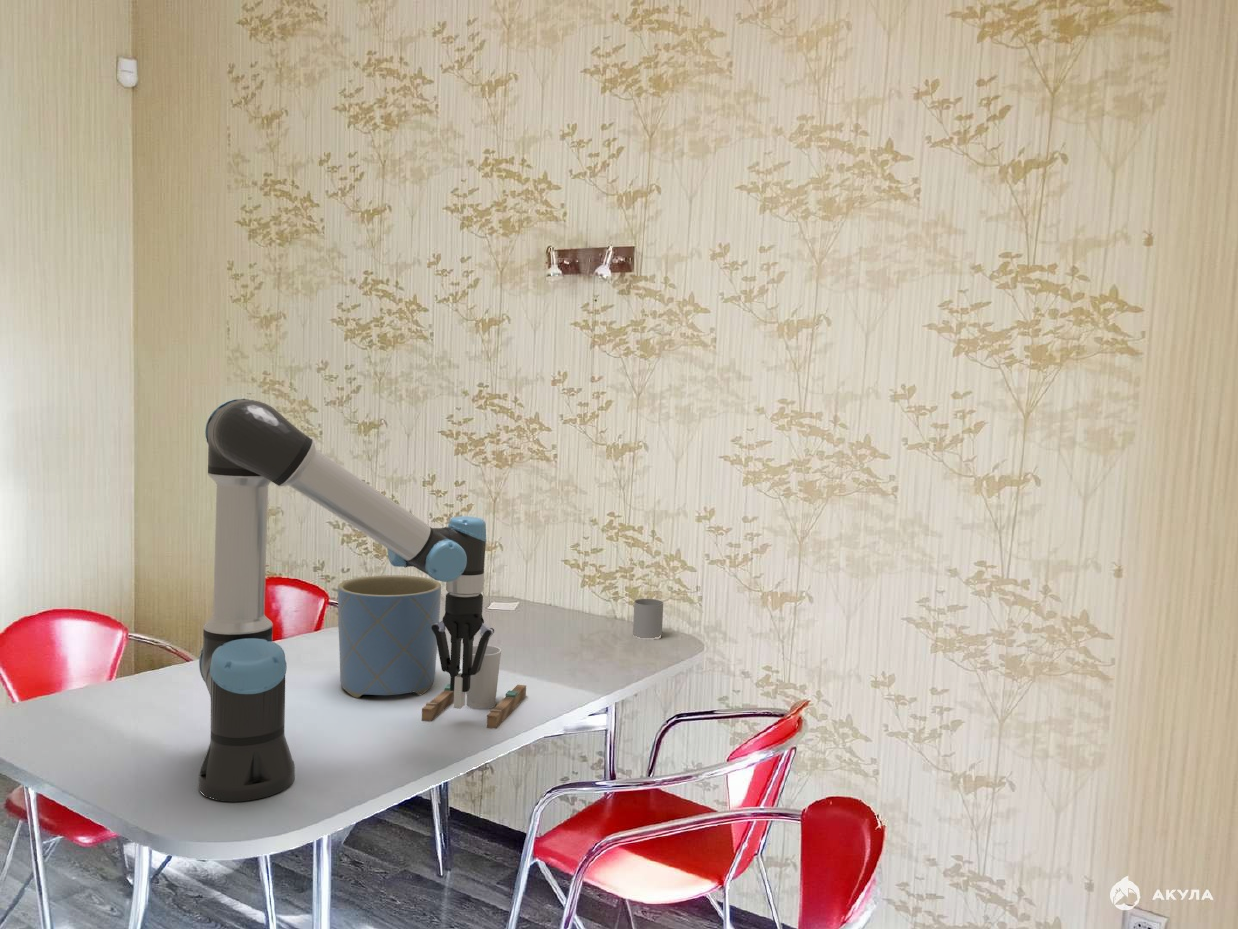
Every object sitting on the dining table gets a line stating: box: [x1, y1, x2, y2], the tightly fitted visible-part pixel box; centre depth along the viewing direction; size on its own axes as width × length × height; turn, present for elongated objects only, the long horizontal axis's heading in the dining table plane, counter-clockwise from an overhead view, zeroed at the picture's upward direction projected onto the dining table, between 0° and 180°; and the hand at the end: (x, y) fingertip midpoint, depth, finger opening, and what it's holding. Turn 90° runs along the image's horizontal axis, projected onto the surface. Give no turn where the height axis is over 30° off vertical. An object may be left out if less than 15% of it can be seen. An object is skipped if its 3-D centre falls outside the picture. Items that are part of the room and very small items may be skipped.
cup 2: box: [632, 598, 664, 638], centre depth 262 cm, size 8×8×10 cm
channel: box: [421, 683, 527, 729], centre depth 197 cm, size 21×16×3 cm
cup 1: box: [465, 644, 502, 710], centre depth 199 cm, size 8×8×12 cm
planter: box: [337, 574, 442, 699], centre depth 209 cm, size 23×23×24 cm
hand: (459, 706), depth 188 cm, fingers closed
